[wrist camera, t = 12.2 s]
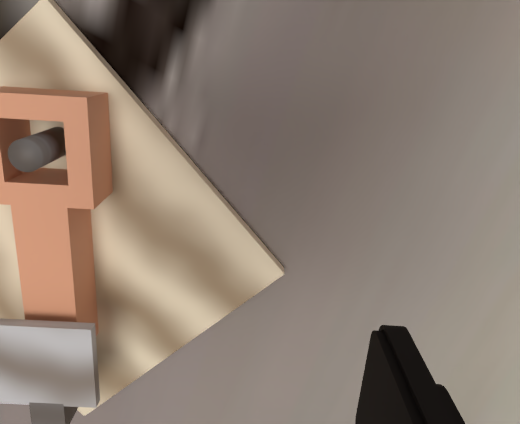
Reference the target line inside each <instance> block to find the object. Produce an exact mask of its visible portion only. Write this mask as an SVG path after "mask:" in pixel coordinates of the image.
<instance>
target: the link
mask: <svg viewBox="0 0 520 424" xmlns="http://www.w3.org/2000/svg"><path fill="white" fill-rule="evenodd" d="M29 120H43V121H60V122H63V123H64V136H65V148H66V160H67V169H54V168H39V169H37V170H35V171H33V172H22V171H20V170H18V169H16V168H15V167H14V166H13V165H12V164H11V162H10V161H9V158H8V148H9V146H10V145H11V143H12V142H14V141H16V140H18V139H21V138H24V137H27V136H30V135H31V131H30V121H29ZM112 192H113V184H112V164H111V143H110V122H109V101H108V93H106V92H89V91H73V90H56V89H40V88H23V87H6V86H2V87H0V204H4V205H11V212H12V220H13V228H14V236H15V244H16V252H17V260H18V268H19V276H20V284H21V292H22V300H23V308H24V316H25V320H42V321H62V322H82V323H95V330H96V336H97V334H98V333H99V331H98V315H97V300H96V285H95V270H94V254H93V239H92V224H91V209H95V208H96V207H97V206H98V205H99V204H100V203H101V202H102V201H104V200H105V199H106V198H107V197H108V196H109V195H110V194H111V193H112Z"/></svg>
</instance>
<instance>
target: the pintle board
mask: <svg viewBox="0 0 520 424" xmlns="http://www.w3.org/2000/svg"><path fill="white" fill-rule="evenodd" d="M2 86H6V87H23V88H40V89H56V90H73V91H89V92H106V93H108V101H109V122H110V143H111V164H112V184H113V192H112V193H111V194H110V195H109V196H108V197H107V198H106V199H105V200H104V201H102V202H101V203H100V204H99V205H98V206H97V207H96V208H95V209H91V224H92V239H93V254H94V270H95V285H96V300H97V315H98V331H99V333H98V334H97V336H96V330H95V323H82V322H62V321H42V320H25V316H24V308H23V300H22V292H21V284H20V276H19V268H18V260H17V252H16V244H15V236H14V228H13V220H12V212H11V205H4V204H0V403H4V404H25V405H29V406H30V414H31V422H32V424H70V422H71V420H72V418H73V416H74V414H75V413H76V411H77V410H78V411H79V412H80V413H82V414H83V415H84V416H85V415H87V414H88V413H90V412H91V411H92V410H94V409H95V408H97V407H98V406H99V405H101V404H102V403H104V402H105V401H106V400H108V399H109V398H111V397H112V396H113V395H115V394H116V393H118V392H119V391H121V390H122V389H123V388H125V387H126V386H128V385H129V384H130V383H132V382H133V381H135V380H136V379H137V378H139V377H140V376H142V375H143V374H144V373H146V372H147V371H149V370H150V369H152V368H153V367H154V366H156V365H157V364H159V363H160V362H161V361H163V360H164V359H166V358H167V357H168V356H170V355H171V354H173V353H174V352H175V351H177V350H178V349H180V348H181V347H183V346H184V345H185V344H187V343H188V342H190V341H191V340H192V339H194V338H195V337H197V336H198V335H199V334H201V333H202V332H204V331H205V330H206V329H208V328H209V327H211V326H212V325H214V324H215V323H216V322H218V321H219V320H221V319H222V318H223V317H225V316H226V315H228V314H229V313H230V312H232V311H233V310H235V309H236V308H237V307H239V306H240V305H242V304H243V303H244V302H246V301H247V300H249V299H250V298H252V297H253V296H254V295H256V294H257V293H259V292H260V291H261V290H263V289H264V288H266V287H267V286H268V285H270V284H271V283H273V282H274V281H275V280H277V279H278V278H280V277H281V276H283V275H284V267H283V266H282V265H281V263H280V262H279V261H278V260H277V259H276V258H275V256H274V255H273V254H272V253H271V252H270V251H269V250H268V248H267V247H266V246H265V245H264V244H263V243H262V241H261V240H260V239H259V238H258V237H257V236H256V234H255V233H254V232H253V231H252V230H251V229H250V227H249V226H248V225H247V224H246V223H245V222H244V221H243V219H242V218H241V217H240V216H239V215H238V214H237V212H236V211H235V210H234V209H233V208H232V207H231V205H230V204H229V203H228V202H227V201H226V200H225V198H224V197H223V196H222V195H221V194H220V193H219V191H218V190H217V189H216V188H215V187H214V186H213V185H212V183H211V182H210V181H209V180H208V179H207V178H206V176H205V175H204V174H203V173H202V172H201V171H200V169H199V168H198V167H197V166H196V165H195V164H194V162H193V161H192V160H191V159H190V158H189V157H188V156H187V154H186V153H185V152H184V151H183V150H182V149H181V147H180V146H179V145H178V144H177V143H176V142H175V140H174V139H173V138H172V137H171V136H170V135H169V133H168V132H167V131H166V130H165V129H164V128H163V126H162V125H161V124H160V123H159V122H158V121H157V120H156V118H155V117H154V116H153V115H152V114H151V113H150V111H149V110H148V109H147V108H146V107H145V106H144V104H143V103H142V102H141V101H140V100H139V99H138V97H137V96H136V95H135V94H134V93H133V92H132V91H131V89H130V88H129V87H128V86H127V85H126V84H125V82H124V81H123V80H122V79H121V78H120V77H119V75H118V74H117V73H116V72H115V71H114V70H113V68H112V67H111V66H110V65H109V64H108V63H107V61H106V60H105V59H104V58H103V57H102V56H101V55H100V53H99V52H98V51H97V50H96V49H95V48H94V46H93V45H92V44H91V43H90V42H89V41H88V39H87V38H86V37H85V36H84V35H83V34H82V32H81V31H80V30H79V29H78V28H77V27H76V25H75V24H74V23H73V22H72V21H71V20H70V19H69V17H68V16H67V15H66V14H65V13H64V12H63V10H62V9H61V8H60V7H59V6H58V5H57V3H56V2H55V1H54V0H40V1H39V2H38V3H37V4H36V5H35V6H34V7H33V8H32V9H31V10H30V11H29V12H28V13H27V14H26V15H25V16H24V17H23V18H22V19H21V20H20V21H19V22H18V23H17V24H16V25H15V26H14V27H13V28H12V29H11V30H10V31H9V32H8V33H7V34H6V35H5V36H4V37H3V38H2V39H1V40H0V87H2ZM29 121H30V131H31V135H30V136H27V137H24V138H21V139H18V140H16V141H14V142H12V143H11V145H10V146H9V148H8V158H9V161H10V162H11V164H12V165H13V166H14V167H15V168H16V169H18V170H20V171H22V172H33V171H35V170H37V169H39V168H54V169H67V160H66V148H65V136H64V123H63V122H60V121H43V120H29Z"/></svg>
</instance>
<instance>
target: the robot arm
mask: <svg viewBox="0 0 520 424" xmlns="http://www.w3.org/2000/svg"><path fill="white" fill-rule="evenodd" d="M356 424H465V422H464V421H463V419H462V417H461V415H460V413H459V411H458V410H457V408H456V406H455V404H454V402H453V400H452V399H451V397H450V395H449V393H448V391H447V390H446V389H445V387H444V386H442V385H440V384H436V383H435V381H434V379H433V378H432V376H431V374H430V372H429V370H428V368H427V366H426V364H425V362H424V360H423V358H422V356H421V355H420V353H419V351H418V349H417V347H416V345H415V343H414V341H413V339H412V337H411V335H410V333H409V332H408V330H407V328H406V327H404V326H389V325H382V326H380V328H379V331H373V332H372V334H371V338H370V344H369V349H368V354H367V360H366V365H365V370H364V376H363V381H362V386H361V392H360V397H359V402H358V408H357V413H356Z"/></svg>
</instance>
